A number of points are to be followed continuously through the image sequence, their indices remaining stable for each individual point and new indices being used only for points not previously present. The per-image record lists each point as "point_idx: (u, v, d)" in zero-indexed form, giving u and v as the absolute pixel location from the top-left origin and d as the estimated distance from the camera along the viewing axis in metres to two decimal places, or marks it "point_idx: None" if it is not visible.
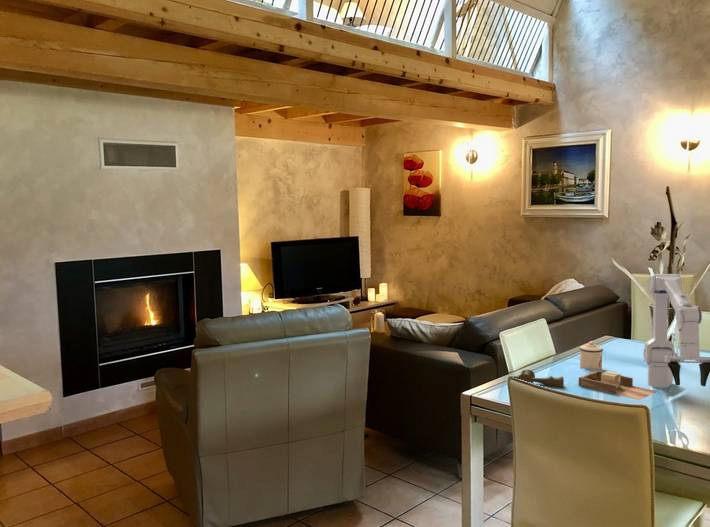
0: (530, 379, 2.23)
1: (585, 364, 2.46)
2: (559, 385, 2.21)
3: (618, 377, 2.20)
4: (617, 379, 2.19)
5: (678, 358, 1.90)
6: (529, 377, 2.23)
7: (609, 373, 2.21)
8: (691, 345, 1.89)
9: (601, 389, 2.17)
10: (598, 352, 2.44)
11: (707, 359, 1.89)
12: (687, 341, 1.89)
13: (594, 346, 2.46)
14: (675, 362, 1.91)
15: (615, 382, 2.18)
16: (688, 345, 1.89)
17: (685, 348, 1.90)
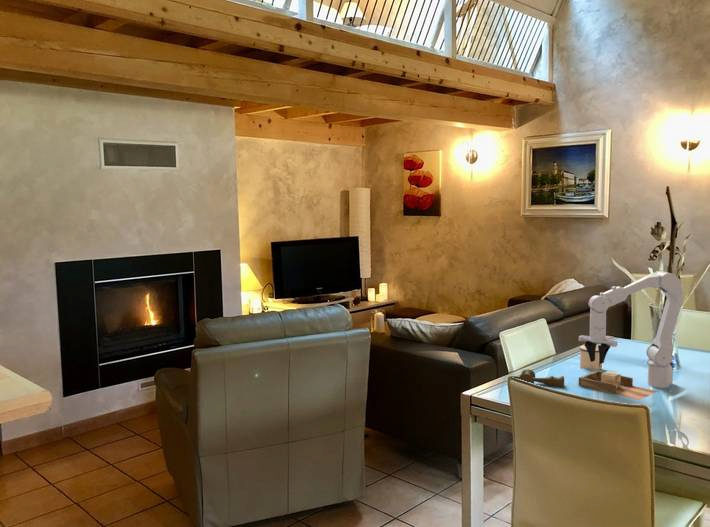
0: (531, 379, 2.23)
1: (585, 364, 2.46)
2: (560, 385, 2.21)
3: (618, 377, 2.20)
4: (617, 379, 2.19)
5: (585, 338, 2.26)
6: (530, 377, 2.23)
7: (609, 373, 2.21)
8: (593, 329, 2.22)
9: (601, 389, 2.17)
10: (598, 352, 2.44)
11: (607, 342, 2.19)
12: None
13: None
14: (585, 341, 2.27)
15: (615, 382, 2.18)
16: (591, 329, 2.23)
17: (590, 330, 2.24)
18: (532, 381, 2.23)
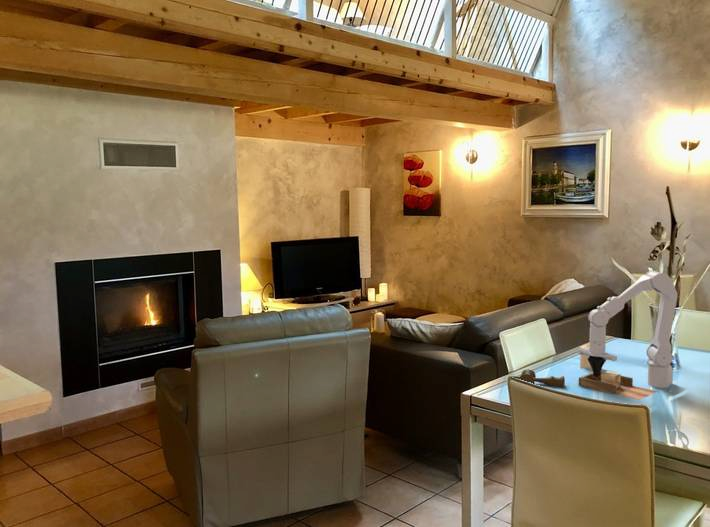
0: (531, 379, 2.23)
1: (585, 364, 2.46)
2: (560, 385, 2.21)
3: (618, 377, 2.20)
4: (617, 379, 2.19)
5: (585, 352, 2.26)
6: (530, 377, 2.23)
7: (609, 373, 2.21)
8: (592, 343, 2.22)
9: (601, 389, 2.17)
10: None
11: (607, 356, 2.20)
12: None
13: None
14: None
15: (615, 382, 2.18)
16: (591, 343, 2.23)
17: (589, 344, 2.24)
18: (532, 381, 2.23)
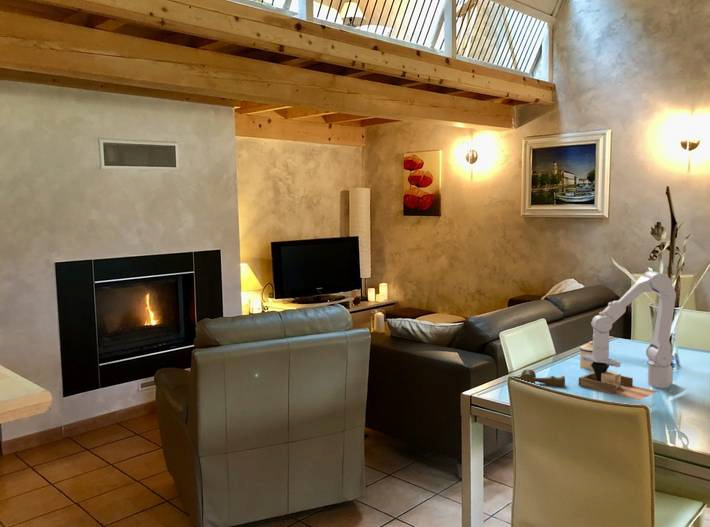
0: (532, 379, 2.23)
1: (585, 364, 2.46)
2: (561, 384, 2.22)
3: (618, 377, 2.19)
4: (617, 379, 2.19)
5: (588, 358, 2.25)
6: (531, 377, 2.23)
7: (609, 373, 2.21)
8: (596, 349, 2.22)
9: (601, 389, 2.17)
10: None
11: (610, 362, 2.19)
12: None
13: None
14: None
15: (615, 382, 2.18)
16: (594, 349, 2.22)
17: (593, 350, 2.23)
18: (533, 381, 2.23)
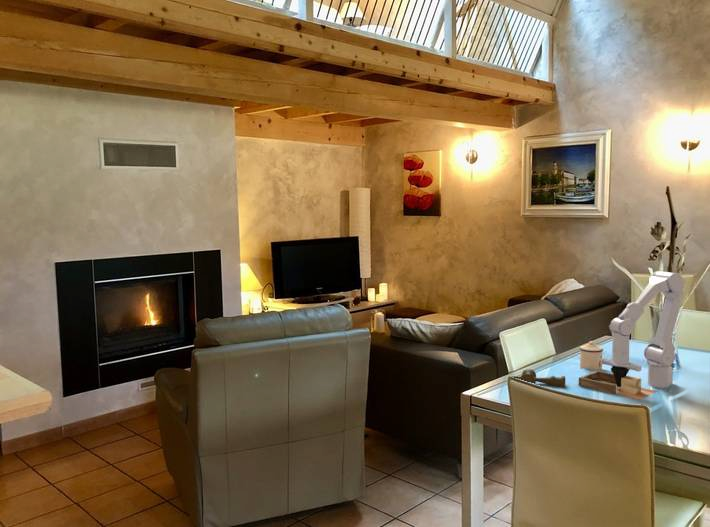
0: (533, 379, 2.23)
1: (585, 364, 2.46)
2: (561, 384, 2.22)
3: (639, 381, 2.14)
4: (638, 384, 2.13)
5: (607, 362, 2.20)
6: (532, 377, 2.23)
7: (629, 378, 2.15)
8: (616, 353, 2.16)
9: (601, 389, 2.17)
10: (598, 352, 2.44)
11: (631, 366, 2.13)
12: (612, 348, 2.18)
13: (594, 346, 2.46)
14: None
15: (636, 387, 2.12)
16: (614, 352, 2.16)
17: (612, 354, 2.17)
18: (533, 381, 2.23)
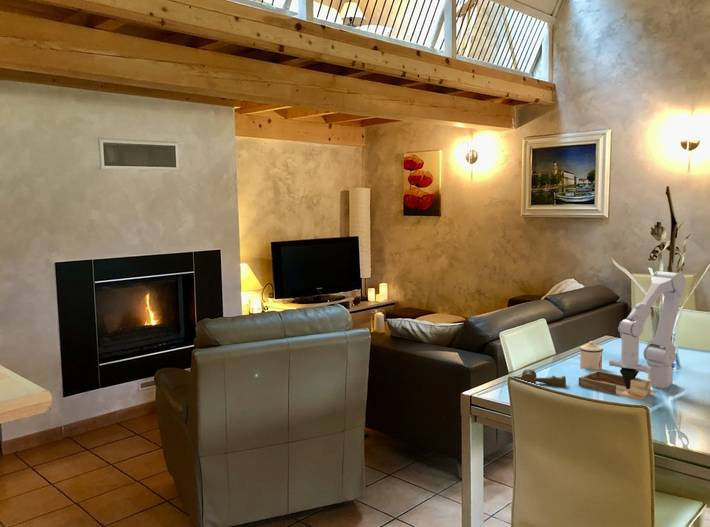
0: (533, 379, 2.23)
1: (585, 364, 2.46)
2: (562, 384, 2.22)
3: (648, 384, 2.11)
4: (647, 386, 2.11)
5: (616, 364, 2.17)
6: (532, 377, 2.23)
7: (639, 380, 2.12)
8: (625, 354, 2.13)
9: (601, 389, 2.17)
10: (598, 352, 2.44)
11: (640, 368, 2.10)
12: (622, 350, 2.15)
13: (594, 346, 2.46)
14: (616, 366, 2.18)
15: (645, 389, 2.10)
16: (623, 354, 2.14)
17: (622, 356, 2.15)
18: (534, 381, 2.23)
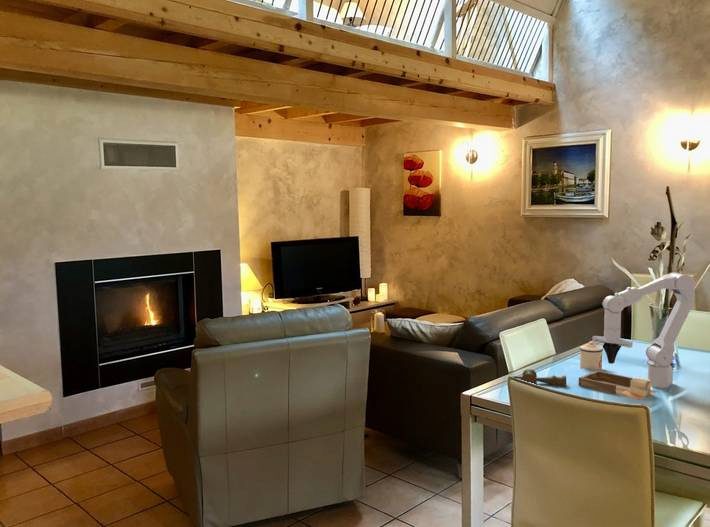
0: (534, 379, 2.23)
1: (585, 364, 2.46)
2: (562, 384, 2.22)
3: (648, 384, 2.11)
4: (647, 386, 2.11)
5: (599, 339, 2.24)
6: (533, 377, 2.23)
7: (639, 380, 2.12)
8: (607, 330, 2.20)
9: (601, 389, 2.17)
10: (598, 352, 2.44)
11: (622, 343, 2.17)
12: (604, 325, 2.23)
13: (594, 346, 2.46)
14: None
15: (645, 389, 2.10)
16: (606, 329, 2.21)
17: (604, 331, 2.22)
18: (535, 381, 2.23)
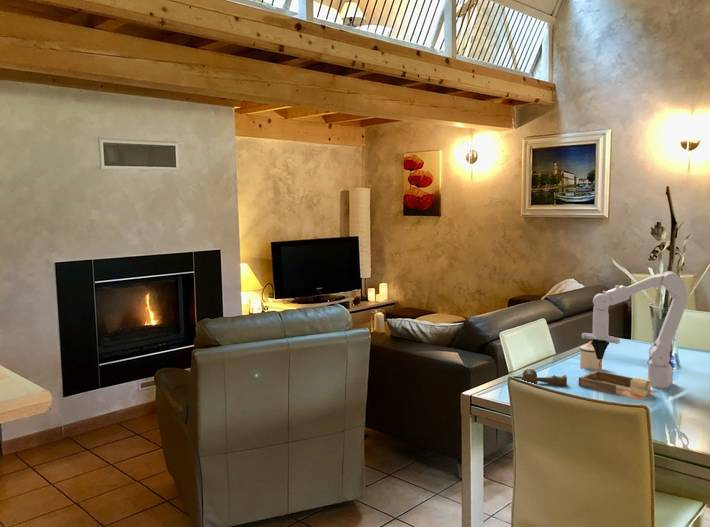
0: (535, 379, 2.23)
1: (585, 364, 2.46)
2: (563, 384, 2.23)
3: (648, 384, 2.11)
4: (647, 386, 2.11)
5: (588, 336, 2.30)
6: (534, 377, 2.23)
7: (639, 380, 2.12)
8: (596, 326, 2.26)
9: (601, 389, 2.17)
10: None
11: (610, 339, 2.24)
12: None
13: None
14: None
15: (645, 389, 2.10)
16: (594, 326, 2.27)
17: (593, 328, 2.28)
18: (536, 381, 2.23)
